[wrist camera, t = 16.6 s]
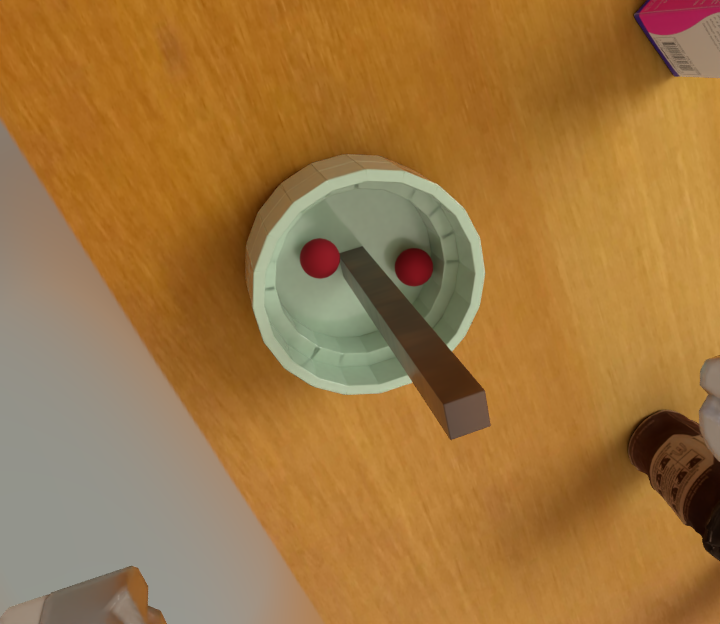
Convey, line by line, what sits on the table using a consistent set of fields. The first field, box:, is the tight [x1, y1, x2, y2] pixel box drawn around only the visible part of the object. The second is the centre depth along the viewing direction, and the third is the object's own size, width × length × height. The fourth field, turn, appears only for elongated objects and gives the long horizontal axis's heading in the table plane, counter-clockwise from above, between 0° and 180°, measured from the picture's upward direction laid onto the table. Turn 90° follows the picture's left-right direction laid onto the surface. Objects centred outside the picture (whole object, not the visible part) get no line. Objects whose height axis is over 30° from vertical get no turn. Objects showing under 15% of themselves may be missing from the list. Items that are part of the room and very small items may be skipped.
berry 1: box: [300, 238, 340, 279], centre depth 42 cm, size 3×3×3 cm
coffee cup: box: [629, 410, 720, 561], centre depth 52 cm, size 9×8×13 cm
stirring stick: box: [339, 246, 490, 440], centre depth 35 cm, size 2×2×20 cm
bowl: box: [245, 154, 485, 395], centre depth 42 cm, size 14×14×6 cm
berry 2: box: [395, 248, 433, 286], centre depth 44 cm, size 3×3×3 cm
